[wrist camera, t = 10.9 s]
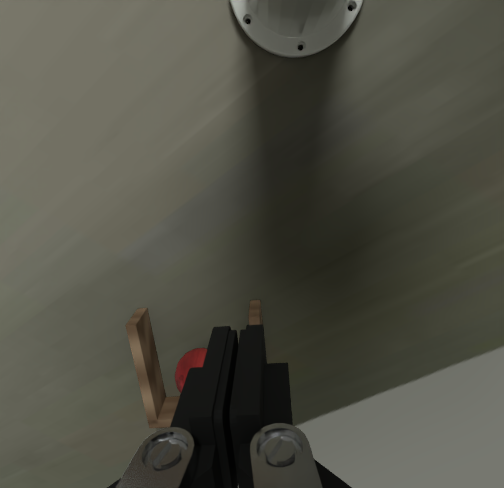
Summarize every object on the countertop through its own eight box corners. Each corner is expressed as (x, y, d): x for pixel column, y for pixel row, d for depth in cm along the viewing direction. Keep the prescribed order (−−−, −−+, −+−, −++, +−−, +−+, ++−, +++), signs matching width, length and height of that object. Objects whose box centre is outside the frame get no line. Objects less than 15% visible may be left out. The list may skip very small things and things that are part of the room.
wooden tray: (137, 308, 44) (125, 325, 40) (260, 299, 43) (259, 316, 39) (158, 404, 49) (149, 428, 45) (270, 399, 48) (270, 422, 44)
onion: (200, 381, 47) (186, 429, 40) (174, 348, 46) (155, 392, 38) (236, 361, 46) (230, 407, 38) (211, 327, 45) (199, 368, 37)
